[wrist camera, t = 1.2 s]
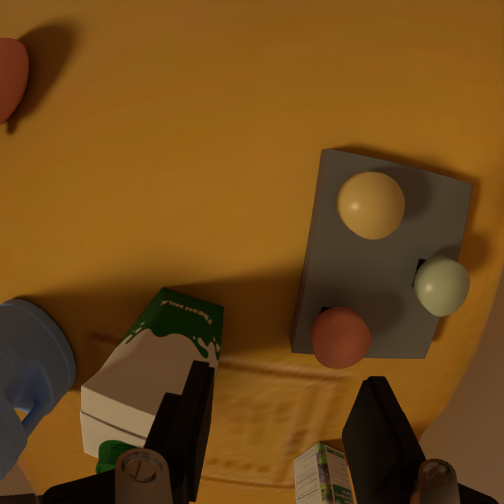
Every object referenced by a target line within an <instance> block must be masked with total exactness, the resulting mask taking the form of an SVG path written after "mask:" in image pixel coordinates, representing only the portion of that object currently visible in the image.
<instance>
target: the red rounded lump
mask: <svg viewBox="0 0 504 504" xmlns="http://www.w3.org/2000/svg"><path fill="white" fill-rule="evenodd" d="M310 338H311V342H312V346H313V350H314V354H315V357H316V358H317V360H318V361H319V362H320V363H321V364H322V365H324V366H326V367H329V368H334V369H341V368H346V367H349V366H352V365H354V364H356V363H357V362H359V361H360V360H361V359H362V358H363V357H364V356H365V355H366V353H367V352H368V350H369V348H370V344H371V334H370V331H369V329H368V327H367V326H366V324H365V322H364V321H363V319H362V317H361V316H360V314H359V313H358V312H357V311H355V310H354V309H352V308H349V307H344V306H338V307H333V308H330V309H328V310H326V311H324V312H322V313H321V314H320V315H319V316H318V317H317V318H316V319H315V321H314V322H313V324H312V326H311V330H310Z"/></svg>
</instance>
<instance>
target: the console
mask: <svg viewBox="0 0 504 504" xmlns="http://www.w3.org/2000/svg"><path fill="white" fill-rule="evenodd" d="M362 171H368V172H378V173H383V174H385V175H388V176H389V177H391V178H392V179H393V180H395V181H396V183H397V184H398V185H399V187H400V188H401V190H402V193H403V195H404V200H405V210H404V215H403V218H402V221H401V223H400V224H399V226H398V227H397V228H396V230H395V231H393V232H392V233H391V234H390V235H388V236H386V237H384V238H381V239H374V240H372V239H366V238H363V237H361V236H359V235H357V234H356V233H354V232H353V231H352V230H351V229H349V228H348V227H347V226H346V225H345V224H344V223H343V222H342V221H341V219H340V218H339V215H338V213H337V209H336V196H337V192H338V189H339V187H340V186H341V184H342V183H343V182H344V180H345V179H346V178H348V177H349V176H351V175H352V174H354V173H357V172H362ZM472 185H473V184H469V183H466V182H463V181H460V180H457V179H453V178H450V177H447V176H443V175H440V174H436V173H433V172H429V171H425V170H422V169H418V168H414V167H410V166H406V165H402V164H398V163H394V162H390V161H386V160H381V159H377V158H372V157H368V156H363V155H358V154H353V153H348V152H343V151H338V150H333V149H324V150H321V158H320V165H319V172H318V179H317V186H316V193H315V199H314V206H313V212H312V219H311V225H310V231H309V237H308V243H307V249H306V255H305V260H304V266H303V271H302V277H301V282H300V288H299V293H298V298H297V304H296V309H295V314H294V319H293V324H292V329H291V334H290V344H291V352H292V353H302V354H314V350H313V346H312V342H311V338H310V330H311V326H312V324H313V322H314V321H315V319H316V318H317V317H318V316H319V315H320V313H321V309H322V307H331V308H333V307H338V306H344V307H349V308H352V309H354V310H355V311H357V312H358V313H359V314H360V316H361V317H362V319H363V321H364V322H365V324H366V326H367V327H368V329H369V331H370V334H371V344H370V348H369V350H368V352H367V353H366V355H365V356H364V357H365V358H399V359H425V357H426V355H427V352H428V350H429V347H430V344H431V342H432V339H433V337H434V334H435V331H436V328H437V326H438V323H439V320H440V317H441V316H435V315H433V314H431V313H430V312H429V311H428V310H427V309H426V308H425V307H424V306H423V305H422V304H421V303H420V302H419V301H418V300H417V298H416V296H415V294H414V289H413V285H414V276H415V272H416V268H417V264H418V260H419V259H425V260H428V259H429V258H431V257H433V256H436V255H444V256H447V257H449V258H451V259H452V260H454V261H456V262H457V260H458V256H459V252H460V248H461V244H462V239H463V235H464V230H465V225H466V220H467V215H468V210H469V204H470V198H471V192H472Z"/></svg>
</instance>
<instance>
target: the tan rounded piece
mask: <svg viewBox="0 0 504 504" xmlns="http://www.w3.org/2000/svg"><path fill="white" fill-rule="evenodd" d="M336 209H337V213H338V215H339V218H340V219H341V221H342V222H343V223H344V224H345V225H346V226H347V227H348V228H349V229H351V230H352V231H353V232H354V233H356V234H357V235H359V236H361V237H363V238H366V239H372V240H374V239H381V238H384V237H386V236H388V235H390V234H391V233H392V232H393V231H395V230H396V228H397V227H398V226H399V224H400V223H401V221H402V218H403V215H404V210H405V200H404V195H403V193H402V190H401V188H400V187H399V185H398V184H397V183H396V181H395V180H393V179H392V178H391V177H389V176H388V175H385V174H383V173H378V172H368V171H362V172H357V173H354V174H352V175H351V176H349V177H348V178H346V179H345V180H344V182H343V183H342V184H341V186H340V187H339V189H338V192H337V196H336Z"/></svg>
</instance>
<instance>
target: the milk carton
mask: <svg viewBox="0 0 504 504" xmlns="http://www.w3.org/2000/svg"><path fill="white" fill-rule="evenodd" d="M223 312H224V307H221V306H218V305H215V304H212V303H208V302H205V301H202V300H199V299H196V298H193V297H190V296H187V295H184V294H181V293H178V292H175V291H172V290H169V289H166V288H163V287H162V288H161V290H160V291H159V292H158V294H157V295H156V296H155V298H154V299H153V300H152V301H151V303H150V304H149V305H148V306H147V308H146V309H145V310H144V312H143V313H142V314H141V316H140V317H139V318H138V320H137V321H136V322H135V323H134V325H133V326H132V327H131V329H130V330H129V331H128V333H127V334H126V335H125V336H124V338H123V339H122V340H121V342H120V343H119V345H118V346H117V347H116V349H115V350H114V351H113V353H112V354H111V355H110V357H109V358H108V359H107V361H106V362H105V364H104V365H103V366H102V368H101V369H100V370H99V371H98V372H97V373H96V374H95V375H94V376H93V377H91V378H90V379H89V380H88V381H86V382H85V383H84V384H83V385H81V401H82V406H81V411H80V420H81V425H82V436H83V445H84V452H85V453H87V454H89V455H91V456H94V457H96V458H99V461H98V463H97V466H96V473H97V474H99V473H102V472H105V471H108V470H111V469H114V468H115V467H116V462H117V459H118V458H119V456H120V455H121V454H123V453H124V452H126V451H128V450H131V449H135V448H143V447H144V444H145V442H146V439H147V436H148V434H149V431H150V429H151V426H152V424H153V421H154V419H155V416H156V414H157V411H158V409H159V406H160V404H161V401H162V399H163V396H164V394H165V393H166V392H168V393H174V394H179V395H182V392H183V389H184V386H185V383H186V380H187V377H188V374H189V371H190V368H191V365H192V362H193V360H197V361H204V362H209V363H210V366H209V367H215V376H216V372H217V367H218V362H219V356H220V350H221V337H222V324H223ZM215 376H214V381H215Z"/></svg>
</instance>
